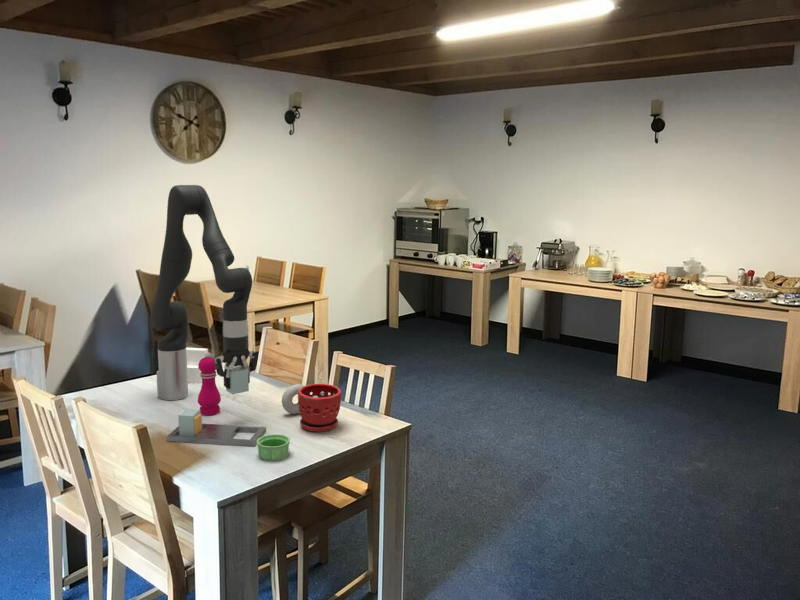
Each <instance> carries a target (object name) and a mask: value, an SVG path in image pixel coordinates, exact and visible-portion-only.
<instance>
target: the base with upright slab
mask: <svg viewBox="0 0 800 600" xmlns="http://www.w3.org/2000/svg"><path fill="white" fill-rule="evenodd" d="M206 353H209V348H203V347H202V348H201V347H200V348H199V347H187V346H186V355H187V377H188V384H190V383H193V385H196V384H195V383H198V384H202V378H201V377H200V376H201V374H200V373H201V371H200V370H199V368H198V364H199V361H200V360H201V359H202V358H205V354H206Z"/></svg>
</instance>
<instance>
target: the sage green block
mask: <svg viewBox="0 0 800 600" xmlns="http://www.w3.org/2000/svg"><path fill="white" fill-rule="evenodd" d="M202 416H203V415H202V414H201V413H200V409H196V408H192V409H191V408H186V409H184V410H183V411H182V412H180V414H178V416H177V417H178V418H177V420H178V426H179V435H180V436H197V435H198V434H199V433H200V432H201V431H202V424H203V422H202V421H203V418H202Z"/></svg>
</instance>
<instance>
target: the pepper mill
mask: <svg viewBox="0 0 800 600" xmlns="http://www.w3.org/2000/svg"><path fill="white" fill-rule="evenodd" d="M198 368H199V370H200V371H201V373H200V374H201V376H200V377H201V378H202V383H201V387H200V390H199V393H198V396H197V403H198V405H199V406H200V407H199V410H200V413H201V414H202V416H215V415H217V414H219V413H220V412H221V406H220V405H219V404H220V403H221V401H222V399H221V398H222V397H221V396H222V395H221V393H220V391H219V389H218V387H217V384H216V378H217V376H218V374H217V371H216V367H215V363H214V357H213V356H212V357H211V353H210V352H208V353H206V354H205V358H202V359H201V360H200V361H199V364H198Z"/></svg>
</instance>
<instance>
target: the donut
mask: <svg viewBox="0 0 800 600" xmlns="http://www.w3.org/2000/svg"><path fill="white" fill-rule="evenodd" d="M304 386H305V385H303V384H301V383H295V384H291V385H290V386H289V387H287V388H286V389H285V391H284V392H283V394H282V397H281V405H282V407H283V409H284V411H285V412H286V413H288V414H291V415H298V414H300V411H299V406H298V402H296V403H294V402H293V399H294V397H295V396H298V391H299V389H300V388H302V387H304Z"/></svg>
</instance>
